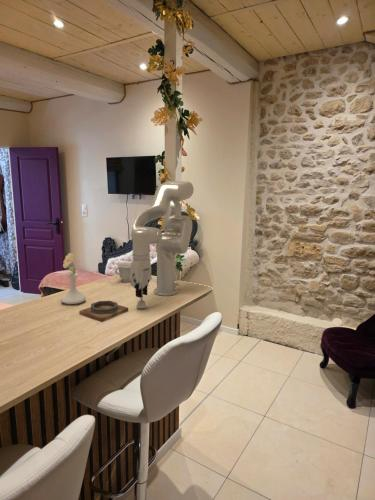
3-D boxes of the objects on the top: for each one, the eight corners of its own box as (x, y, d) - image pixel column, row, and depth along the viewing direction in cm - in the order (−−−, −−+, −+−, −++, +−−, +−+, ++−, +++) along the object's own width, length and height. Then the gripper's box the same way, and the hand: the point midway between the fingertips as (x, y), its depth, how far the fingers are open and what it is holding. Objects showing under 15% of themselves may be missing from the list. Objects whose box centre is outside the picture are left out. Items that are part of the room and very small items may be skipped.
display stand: (106, 304, 159) (106, 297, 158) (128, 310, 152) (128, 303, 151) (79, 314, 146) (79, 306, 145) (101, 322, 138) (101, 314, 138)
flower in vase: (61, 299, 164) (59, 249, 160) (85, 297, 168) (84, 248, 163) (60, 308, 152) (57, 254, 147) (86, 306, 156) (84, 253, 151)
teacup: (109, 281, 196) (108, 265, 194) (128, 277, 207) (128, 261, 205) (122, 286, 188) (122, 269, 186) (141, 281, 200) (141, 264, 198)
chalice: (136, 309, 150) (136, 271, 146) (131, 304, 156) (131, 267, 152) (151, 307, 153) (151, 269, 150) (146, 302, 159) (146, 266, 155)
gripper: (146, 252, 158) (146, 289, 162) (122, 259, 145) (122, 299, 149) (159, 254, 154) (159, 292, 158) (135, 261, 141) (135, 302, 145)
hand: (141, 295), depth 154 cm, fingers closed on chalice, 3 cm apart
